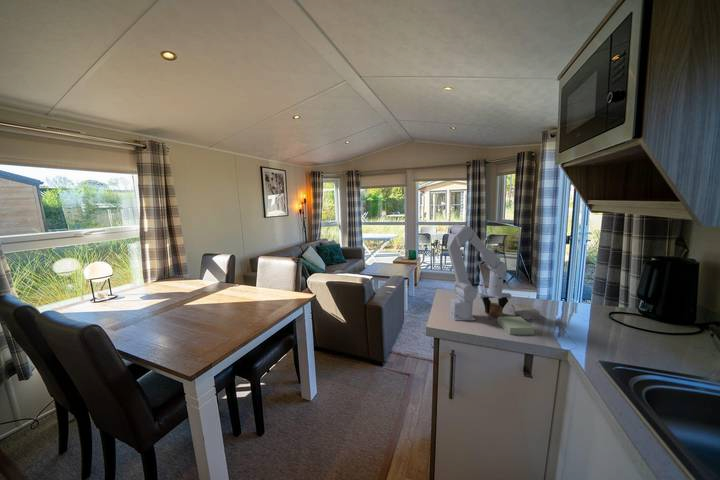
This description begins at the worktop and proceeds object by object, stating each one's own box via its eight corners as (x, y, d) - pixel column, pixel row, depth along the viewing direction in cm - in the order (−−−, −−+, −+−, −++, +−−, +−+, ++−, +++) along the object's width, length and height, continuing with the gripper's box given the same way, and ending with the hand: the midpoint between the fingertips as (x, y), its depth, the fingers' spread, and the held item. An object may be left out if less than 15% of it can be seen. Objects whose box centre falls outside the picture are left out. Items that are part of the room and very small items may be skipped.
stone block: (520, 323, 121) (542, 319, 120) (519, 314, 120) (541, 310, 119) (507, 313, 132) (527, 309, 132) (505, 304, 132) (525, 300, 131)
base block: (509, 334, 108) (510, 327, 107) (497, 322, 118) (497, 316, 117) (534, 334, 108) (534, 327, 107) (519, 322, 117) (520, 316, 117)
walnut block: (490, 317, 123) (491, 307, 122) (484, 312, 128) (485, 302, 127) (501, 317, 123) (502, 307, 122) (496, 312, 128) (496, 302, 127)
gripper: (484, 288, 119) (482, 315, 121) (516, 288, 119) (513, 315, 121) (477, 283, 126) (475, 309, 128) (507, 282, 126) (505, 309, 128)
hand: (493, 312), depth 125 cm, fingers closed on walnut block, 5 cm apart
